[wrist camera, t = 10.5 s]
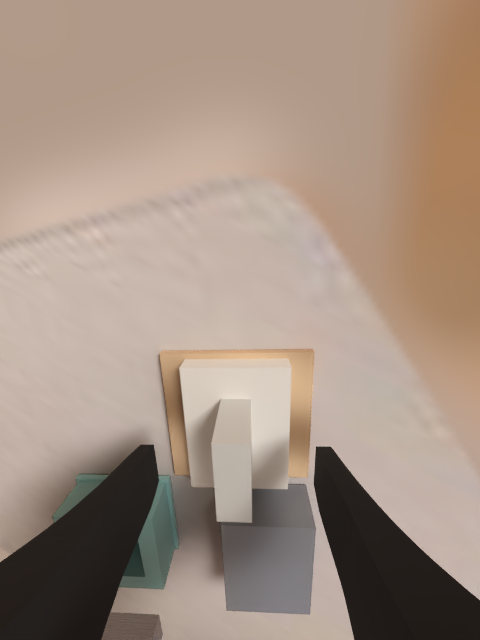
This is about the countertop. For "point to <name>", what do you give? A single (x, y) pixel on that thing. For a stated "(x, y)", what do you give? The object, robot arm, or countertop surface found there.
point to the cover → (237, 428)
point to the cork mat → (298, 358)
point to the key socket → (154, 540)
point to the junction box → (271, 554)
